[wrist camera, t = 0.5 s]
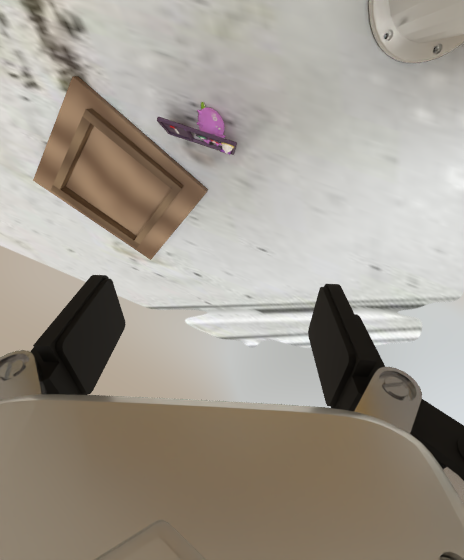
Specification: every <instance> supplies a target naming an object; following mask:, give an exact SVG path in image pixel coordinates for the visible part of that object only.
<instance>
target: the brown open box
mask: <svg viewBox="0 0 464 560" xmlns="http://www.w3.org/2000/svg"><path fill="white" fill-rule="evenodd" d="M33 181H35V182H36V183H38V184H39V185H41V186H42V187H44V188H45V189H47V190H48V191H50V192H51V193H53V194H54V195H56V196H57V197H59V198H60V199H61V200H63V201H64V202H66V203H67V204H69V205H70V206H72V207H73V208H75V209H76V210H78V211H79V212H81V213H82V214H84V215H85V216H87V217H88V218H90V219H91V220H93V221H94V222H96V223H97V224H98V225H100V226H101V227H103V228H104V229H106V230H107V231H109V232H110V233H112V234H113V235H115V236H116V237H118V238H119V239H121V240H122V241H124V242H125V243H127V244H128V245H130V246H131V247H133V248H134V249H135V250H137V251H138V252H140V253H141V254H143V255H144V256H146V257H147V258H149V259H150V260H151V259H152V258H153V256H154V255H155V254H156V253H157V252H158V250H159V249H160V248H161V247H162V245H163V244H164V243H165V242H166V241H167V239H168V238H169V237H170V236H171V235H172V233H173V232H174V231H175V230H176V229H177V227H178V226H179V225H180V224H181V223H182V221H183V220H184V219H185V218H186V216H187V215H188V214H189V213H190V212H191V210H192V209H193V208H194V207H195V206H196V204H197V203H198V202H199V201H200V200H201V198H202V197H203V196H204V195H205V194H206V192H207V190H208V189H207V188H206V187H205V186H203V185H202V184H201V183H200V182H199V181H198V180H197V179H195V178H194V177H193V176H192V175H191V174H190V173H188V172H187V171H186V170H185V169H184V168H183V167H182V166H180V165H179V164H178V163H177V162H176V161H175V160H174V159H172V158H171V157H170V156H169V155H168V154H167V153H166V152H164V151H163V150H162V149H161V148H160V147H159V146H157V145H156V144H155V143H154V142H153V141H152V140H151V139H149V138H148V137H147V136H146V135H145V134H144V133H143V132H141V131H140V130H139V129H138V128H137V127H136V126H134V125H133V124H132V123H131V122H130V121H129V120H128V119H126V118H125V117H124V116H123V115H122V114H121V113H120V112H118V111H117V110H116V109H115V108H114V107H113V106H111V105H110V104H109V103H108V102H107V101H106V100H105V99H103V98H102V97H101V96H100V95H99V94H98V93H97V92H95V91H94V90H93V89H92V88H91V87H90V86H88V85H87V84H86V83H85V82H84V81H83V80H82V79H80V78H79V77H77V76H73V77H72V80H71V82H70V85H69V87H68V90H67V93H66V95H65V98H64V101H63V103H62V106H61V108H60V111H59V114H58V116H57V119H56V122H55V124H54V127H53V130H52V132H51V135H50V137H49V140H48V143H47V145H46V148H45V151H44V153H43V156H42V158H41V161H40V164H39V166H38V169H37V172H36V174H35V177H34V180H33Z"/></svg>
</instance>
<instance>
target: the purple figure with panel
mask: <svg viewBox="0 0 464 560" xmlns="http://www.w3.org/2000/svg"><path fill="white" fill-rule="evenodd" d="M205 106H206V105H205V103H204V102H202V103H201V110H197V111H198V113H199V115H198V122H197V125H199V128H200V130H197V129H194V128H191V127H188V126H185V125H182V124H179V123H176V122H173V121H170V120H167V119H164V118H161V117H158V118H157V121H158V122H159V123H160V125H161V126H162V127H163V128H164V129H165V130H166V132H167V133H168V134H170V135H173V136H176V137H179V138H182V139H186V140H189V141H191V142H195V143H198V144H201V145H204V146H207V147H210V148H213V149H216V150H219V151H221V152H224V153H225V154H232V155H234V152H235V148H236V145H237V143H236V142H233V141H230V140H227V139H224V137H225V136H226V135H224V136H223V134H224V122H223V120H222V118H221V116H220V115H219V113H218V112H217V111H215V110H214V109H212V108H205ZM190 132H193V133H196V136H198V137H199V138H201V139H203V140H204V141H205V142H203V141H200V140H197V139H194V138H193V137H192V135H191V133H190ZM219 141H220V142H219ZM221 142H223V143H221ZM215 144H216V145H217V146H215ZM218 144H219V145H222V148H221V147H218V146H219V145H218ZM231 150H232V151H231Z"/></svg>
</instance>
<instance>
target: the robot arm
mask: <svg viewBox="0 0 464 560" xmlns="http://www.w3.org/2000/svg"><path fill="white" fill-rule="evenodd" d="M369 15H370V24H371V28H372V31H373V35H374V37H375V39H376V41H377V43H378V45H379V46H380V48H381V49H382V50H383V51H384V52H385V53H386V54H387V55H388V56H390V57H392V58H393V59H395V60H398V61H401V62H405V63H419V62H425V61H430V60H433V59H436V58H439V57H441V56H443V55H445V54H447V53H449V52H450V51H452V50H454V49H455V48H457V47H458V46H459V45H461V44H462V43H463V42H464V0H369ZM385 33H386V34H387V38H386V39H384V35H385ZM434 47H435V51H434V52H433V49H434ZM124 328H125V319H124V316H123V313H122V310H121V307H120V304H119V300H118V297H117V294H116V291H115V288H114V285H113V281H112V280H111V279H109V278H108V277H107V276H106V275H92V276H91V277H90V278H89V279H88V280H87V282H86V283H85V284H84V285H83V287H82V288H81V289H80V290H79V291H78V292H77V294H76V295H75V296H74V297H73V299H72V300H71V301H70V302H69V303H68V305H67V306H66V307H65V308H64V309H63V310H62V312H61V313H60V314H59V315H58V316H57V318H56V319H55V320H54V321H53V322H52V324H51V325H50V326H49V327H48V329H47V330H46V331H45V332H44V333H43V334H42V336H41V337H40V338H39V339H38V340H37V342H36V343H35V344H34V345H33V346H34V348H33V349H32V350H31V352H29V351H25V350H21V351H15V352H12V353H8V354H6V355H4V356H2V357H0V560H464V426H463V425H462V424H460V423H459V422H457V421H456V420H454V419H452V418H451V417H449V416H448V415H446V414H444V413H443V412H442V411H440V410H439V409H437V408H435V407H434V406H432V405H431V404H429V403H428V402H426V401H424V400H423V399H422V392H421V389H420V387H419V386H418V384H417V383H416V381H415V380H414V379H413V378H412V377H411V376H409V375H408V374H406V373H405V372H403V371H401V370H399V369H396V368H392V367H385V365H384V363H383V361H382V359H381V358H380V355H379V353H378V351H377V349H376V347H375V345H374V344H373V342H372V340H371V338H370V336H369V334H368V332H367V330H366V328H365V326H364V324H363V322H362V320H361V318H360V317H359V316H358V315H354V313H353V310H352V308H351V306H350V304H349V302H348V300H347V298H346V296H345V294H344V292H343V290H342V288H341V286H340V285H339V284H325V286H324V287H321V288H320V290H319V293H318V297H317V301H316V304H315V308H314V312H313V315H312V319H311V322H310V326H309V331H308V335H309V340H310V343H311V347H312V351H313V355H314V358H315V363H316V367H317V370H318V374H319V378H320V382H321V386H322V390H323V393H324V398H325V401H326V404H327V406H331V408H325V407H310V406H296V405H282V404H263V403H245V402H244V403H243V402H227V401H207V400H187V399H165V398H144V397H122V396H99V395H87V394H90V393H91V392H92V391H93V389H94V387H95V385H96V383H97V381H98V379H99V377H100V376H101V373H102V372H103V369H104V368H105V366H106V364H107V362H108V360H109V358H110V356H111V354H112V352H113V350H114V348H115V346H116V344H117V342H118V340H119V338H120V336H121V334H122V332H123V330H124Z"/></svg>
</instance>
